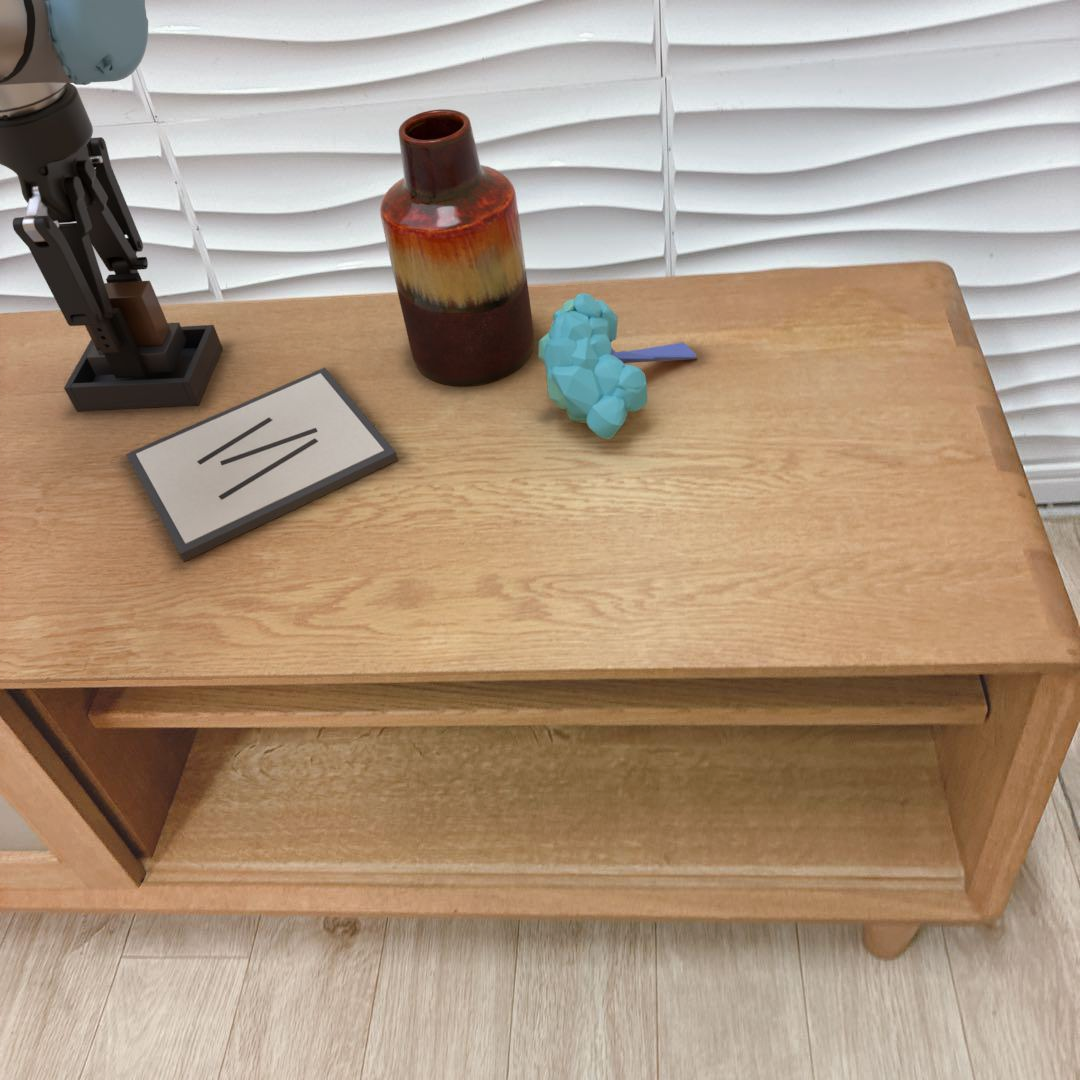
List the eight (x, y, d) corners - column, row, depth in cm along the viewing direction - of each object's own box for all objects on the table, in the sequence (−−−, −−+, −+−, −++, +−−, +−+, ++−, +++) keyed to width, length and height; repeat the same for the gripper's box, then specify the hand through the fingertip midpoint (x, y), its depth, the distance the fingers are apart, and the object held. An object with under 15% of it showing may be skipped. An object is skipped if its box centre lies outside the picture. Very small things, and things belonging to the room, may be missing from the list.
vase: (530, 305, 98) (502, 84, 83) (538, 378, 91) (509, 149, 76) (413, 320, 98) (365, 102, 84) (412, 394, 91) (358, 168, 76)
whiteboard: (183, 562, 80) (179, 552, 79) (129, 461, 89) (124, 452, 88) (398, 460, 85) (395, 450, 84) (327, 375, 94) (324, 365, 93)
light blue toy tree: (597, 366, 97) (484, 369, 86) (657, 293, 92) (545, 286, 81) (667, 458, 94) (559, 474, 82) (734, 387, 89) (628, 393, 77)
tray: (75, 411, 94) (63, 387, 92) (106, 354, 100) (95, 331, 98) (198, 405, 93) (188, 381, 91) (222, 348, 98) (213, 324, 97)
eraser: (95, 375, 94) (62, 307, 88) (112, 344, 97) (80, 277, 92) (172, 372, 93) (143, 303, 88) (187, 340, 96) (159, 272, 91)
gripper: (24, 150, 71) (152, 419, 88) (110, 41, 83) (208, 296, 100) (-81, 158, 72) (65, 423, 89) (19, 49, 84) (131, 301, 101)
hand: (141, 356), depth 95 cm, fingers closed on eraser, 4 cm apart
